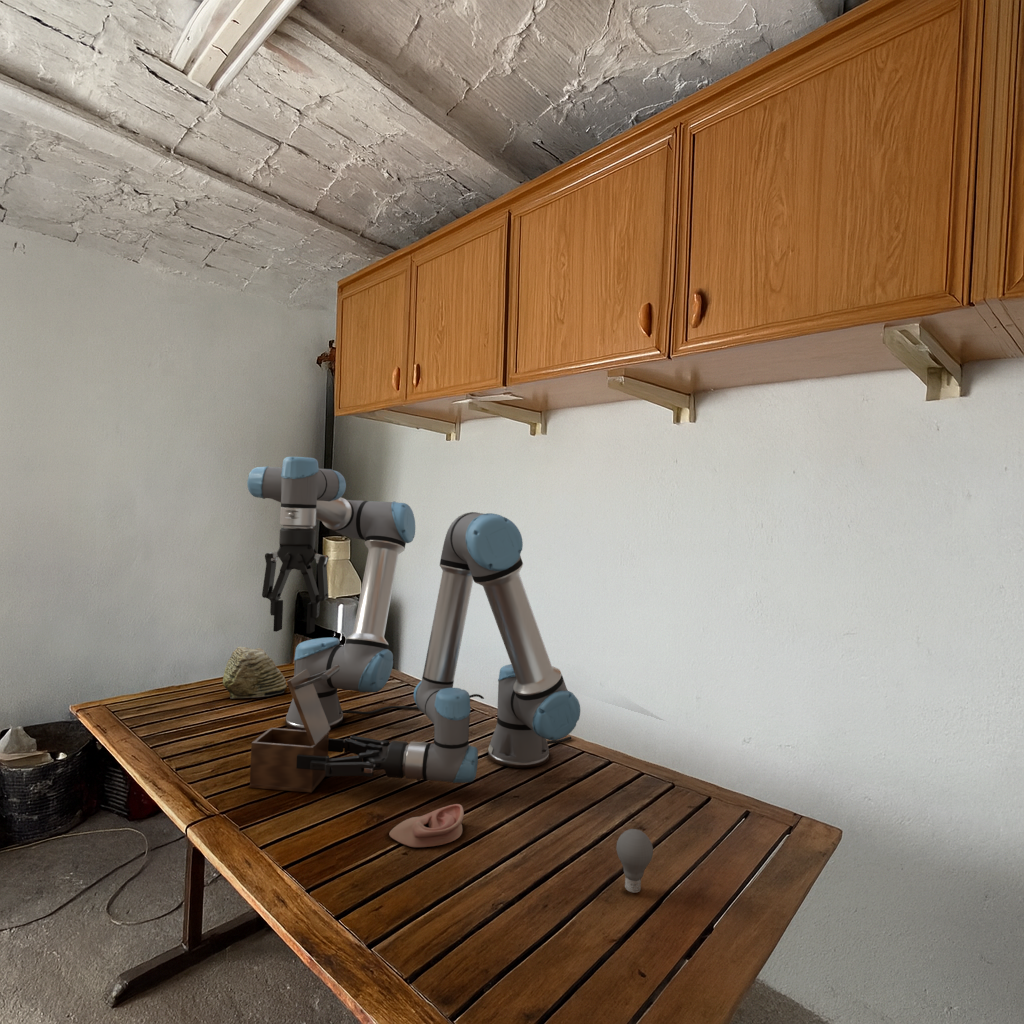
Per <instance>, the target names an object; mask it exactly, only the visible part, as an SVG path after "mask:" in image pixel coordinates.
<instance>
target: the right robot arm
mask: <svg viewBox="0 0 1024 1024" xmlns="http://www.w3.org/2000/svg"><path fill="white" fill-rule="evenodd" d="M523 542H524V541H523V537H522V533H521V531H520V529H519V528H518V526H517V525H516V524H515V523H514V522H513V521H512V520H511V519H509V518H507V517H506V516H503V515H501V514H497V513H490V512H488V513H483V512H477V511H476V512H475V511H471V512H466V513H463V514H461V515H458V516H457V517H456V518H455V519H454V520H453V521H452V522H451V523H450V525H449V527H448V529H447V531H446V534H445V537H444V542H443V545H442V550H441V556H440V561H439V567H440V569H441V570H442V572H441V578H440V584H439V587H438V594H437V600H436V605H435V610H434V615H433V621H432V624H431V631H430V636H429V641H428V647H427V652H426V656H425V662H424V668H423V673H422V676H421V677H422V678H421V680H420V681H419V682H418V683H417V684H416V686H415V688H414V690H413V701H414V703H415V704H416V707H418V708H419V709H418V710H419V711H420V712H421V713H423V714H424V715H425V716H426V717H427V718H428V720H429V721H430V722H431V723H432V724H433V725H434V726H433V727H434V728H433V729H434V731H433V732H434V734H433V736H434V737H433V743H431V742H421V741H410V742H408V741H405V740H392V741H390V740H382V739H381V740H380V739H374V738H370V737H363V736H359V735H350V737H349V738H344V739H342V738H332V737H331V738H330V737H329V741H328V752H330V753H331V752H332V753H343V754H348V753H350V754H354V755H350V756H342V757H334V758H330V756H329V754H328V756H312V755H299V754H298V755H297V767H296V768H298V769H311V770H324V771H325V777H326V778H327V777H329V778H330V777H369V778H370V777H371V778H372V777H374V772H375V771H381V770H383V771H384V772H385V776H386V777H387V778H394V779H403V778H406V779H409V780H416V781H417V782H420V781H421V780H423V781H433V782H434V781H436V782H446V783H452V784H469V783H473V782H474V781H475V779H476V777H477V771H478V764H479V751H478V748H477V747H476V746H473V745H470V741H469V740H470V739H469V737H470V736H469V733H470V717H471V707H472V706H471V698H470V695H471V694H470V693H469V692H468V691H467V690H465V689H462V688H460V687H454V683H455V675H456V671H457V666H458V661H459V655H460V651H461V645H462V640H463V636H464V635H463V634H464V629H465V626H466V625H465V624H466V619H467V614H468V610H469V606H470V605H469V604H470V599H471V595H472V594H471V593H472V589H473V584H474V583H475V584H477V585H480V586H482V587H483V590H484V593H485V596H486V598H487V601H488V604H489V606H490V609H491V612H492V615H493V617H494V620H495V623H496V626H497V628H498V631H499V634H500V637H501V639H502V642H503V645H504V648H505V651H506V653H507V656H508V659H509V662H510V664H505V665H503V666H501V668H500V669H499V671H498V673H499V674H498V678H497V682H498V684H497V685H498V687H497V709H496V710H497V712H496V716H497V717H496V726H495V728H494V731H493V734H492V736H491V740H490V742H489V744H488V748H487V750H488V752H487V753H488V755H487V756H488V758H489V759H490V760H491V761H492V762H494V763H496V764H497V765H500V766H503V767H507V768H514V769H529V768H537V767H539V766H542V765H544V764H546V763H547V762H548V761H549V759H550V749H549V745H550V744H551V745H552V744H561V743H564V742H567V741H570V740H572V736H568V735H570V734H571V733H572V732H573V730H575V728H576V726H577V723H578V721H579V720H580V717H581V704H580V701H579V699H578V698H577V696H576V695H575V694H574V693H573V692H572V691H570V690H569V689H568V688H567V685H566V682H565V680H564V677H563V673H562V671H561V669H560V668H558V667H556V666H553V665H552V663H551V660H550V657H549V654H548V651H547V649H546V646H545V642H544V640H543V637H542V634H541V631H540V628H539V625H538V623H537V622H538V621H537V620H536V617H535V615H534V610H533V609H532V605H531V603H530V600H529V597H528V594H527V591H526V589H525V588H526V587H525V586H524V583H523V580H522V577H521V574H520V572H521V570H522V568H523V566H524V563H523V560H522V556H521V554H522V551H523V546H524V545H523V544H524V543H523Z"/></svg>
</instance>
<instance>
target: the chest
mask: <svg viewBox="0 0 1024 1024" xmlns="http://www.w3.org/2000/svg"><path fill="white" fill-rule="evenodd" d="M329 738H330V731H328V732H327V733H326V734H325V735H324V736H323V737H322V738H321V739H320V740H319V741H318V742H317V743H316V744H315V745H313V746H311V743H310V741H309V738H308V735H307V733H306V730H294V729H289V728H278V727H270V728H268V729H267V730H266V731H264V732H263V733H262V734H261V735H260V736H258V737H256V738H255V739H254V740H253V741H252V742H251V744H250V770H249V772H250V773H249V788H250V789H251V788H252V789H264V790H273V791H275V790H276V791H287V792H297V793H301V792H302V793H310V794H311V793H312V792H313V791H315V789H316V788H317V787H318V786H319V785H320V784H321V782H322V781H323V780H324V779H325V778H326V776H325V771H324V770H311V769H298V768H296V767H297V755H298V754H299V755H312V756H328V755H329V751H328V741H329Z"/></svg>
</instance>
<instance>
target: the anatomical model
mask: <svg viewBox="0 0 1024 1024" xmlns="http://www.w3.org/2000/svg"><path fill="white" fill-rule="evenodd" d="M464 816H465V811H464V807H463V805H461V804H460V803H454V804H450V805H449V804H448V805H446V806H443V807H440V808H437V809H435V810H433V811H431V812H428V813H426V814H423V815H420V816H412V817H409V818H407V819H404V820H403V821H401V822H400V823H398V824H396V825H395V826H394V827H393V828H392V829H391V830H390V831H389V835H388V836H389V837H390V838H391V839H392V840H394V841H396V842H398V843H399V844H402V845H404V846H406V847H411V848H427V847H436V846H437V847H438V846H442V845H446V844H449V843H452V842H453V841H456V840H457V839H459V838H461V836H462V834H463V825H462V823H463V821H464Z"/></svg>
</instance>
